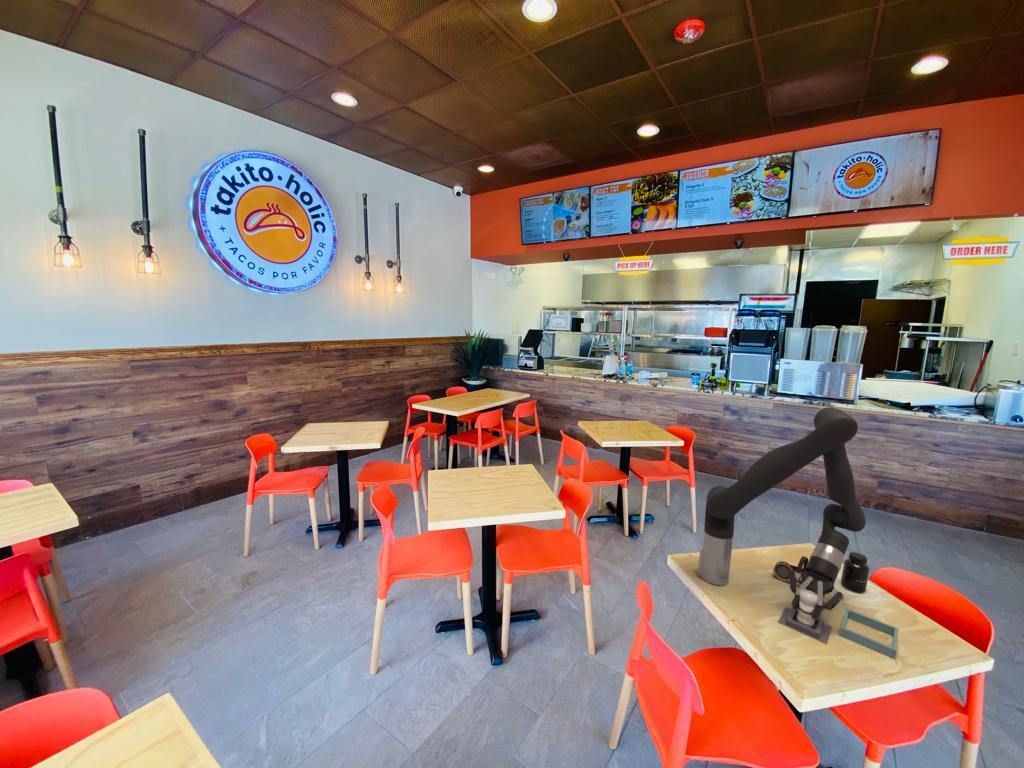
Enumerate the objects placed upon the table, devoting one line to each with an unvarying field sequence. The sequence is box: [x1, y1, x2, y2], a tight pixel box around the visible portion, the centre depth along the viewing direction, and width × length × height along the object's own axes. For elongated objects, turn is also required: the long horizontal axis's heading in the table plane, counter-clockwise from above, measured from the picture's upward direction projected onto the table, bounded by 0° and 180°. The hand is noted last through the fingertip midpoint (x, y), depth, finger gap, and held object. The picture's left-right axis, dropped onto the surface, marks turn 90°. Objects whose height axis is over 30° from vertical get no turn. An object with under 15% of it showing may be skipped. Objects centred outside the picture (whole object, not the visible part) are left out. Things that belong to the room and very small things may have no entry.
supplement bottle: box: [840, 551, 870, 594], centre depth 144 cm, size 7×7×12 cm
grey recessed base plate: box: [777, 606, 833, 645], centre depth 125 cm, size 12×10×2 cm
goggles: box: [773, 555, 809, 590], centre depth 148 cm, size 15×13×10 cm
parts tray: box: [839, 608, 900, 660], centre depth 121 cm, size 12×12×4 cm
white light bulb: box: [796, 589, 818, 629], centre depth 124 cm, size 4×4×10 cm
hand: (804, 613), depth 123 cm, fingers closed on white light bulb, 4 cm apart
